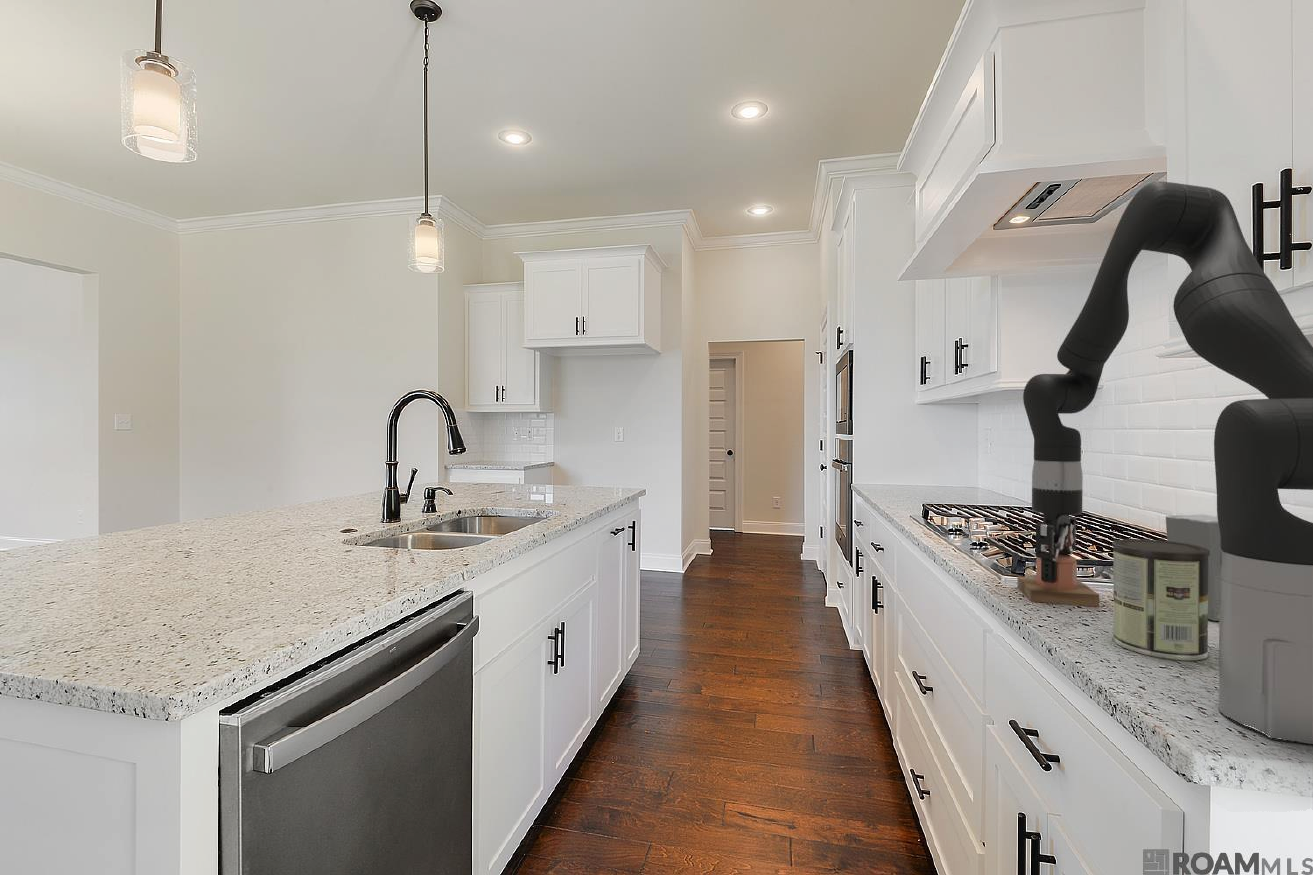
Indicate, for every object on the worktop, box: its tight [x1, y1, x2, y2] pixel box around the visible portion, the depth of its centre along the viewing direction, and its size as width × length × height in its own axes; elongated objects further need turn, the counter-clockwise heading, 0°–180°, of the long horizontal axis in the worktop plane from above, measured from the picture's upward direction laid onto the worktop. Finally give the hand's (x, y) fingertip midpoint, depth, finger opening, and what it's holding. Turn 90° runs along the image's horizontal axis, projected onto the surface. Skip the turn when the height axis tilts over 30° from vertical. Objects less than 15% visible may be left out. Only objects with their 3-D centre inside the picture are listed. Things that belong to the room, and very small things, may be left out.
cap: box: [1035, 555, 1078, 590], centre depth 108 cm, size 6×6×5 cm
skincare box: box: [1165, 514, 1221, 622], centre depth 98 cm, size 8×7×16 cm
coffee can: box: [1111, 538, 1210, 662], centre depth 84 cm, size 10×10×14 cm
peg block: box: [1016, 576, 1100, 608], centre depth 108 cm, size 10×10×6 cm
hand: (1056, 578), depth 108 cm, fingers open, 7 cm apart
